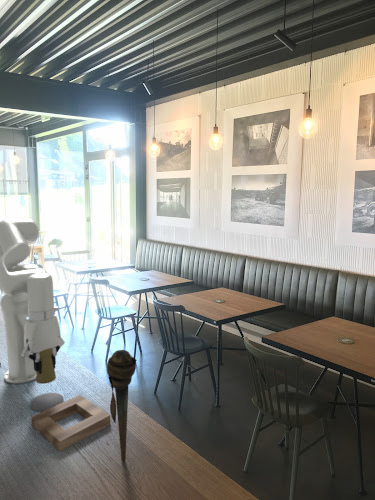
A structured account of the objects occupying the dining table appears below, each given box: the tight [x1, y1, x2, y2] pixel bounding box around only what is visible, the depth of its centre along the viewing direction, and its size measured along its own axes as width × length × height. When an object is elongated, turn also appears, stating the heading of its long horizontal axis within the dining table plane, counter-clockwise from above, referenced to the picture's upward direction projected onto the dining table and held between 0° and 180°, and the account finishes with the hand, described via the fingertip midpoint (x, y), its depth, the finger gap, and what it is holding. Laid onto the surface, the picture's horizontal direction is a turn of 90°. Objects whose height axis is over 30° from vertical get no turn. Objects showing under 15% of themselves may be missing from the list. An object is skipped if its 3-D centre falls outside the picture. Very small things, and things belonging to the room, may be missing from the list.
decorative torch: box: [106, 349, 137, 463], centre depth 96 cm, size 7×7×30 cm
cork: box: [35, 348, 57, 385], centre depth 122 cm, size 6×6×11 cm
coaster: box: [29, 392, 64, 413], centre depth 125 cm, size 10×10×1 cm
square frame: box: [30, 394, 111, 452], centre depth 113 cm, size 16×16×3 cm
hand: (45, 369), depth 123 cm, fingers closed on cork, 3 cm apart
